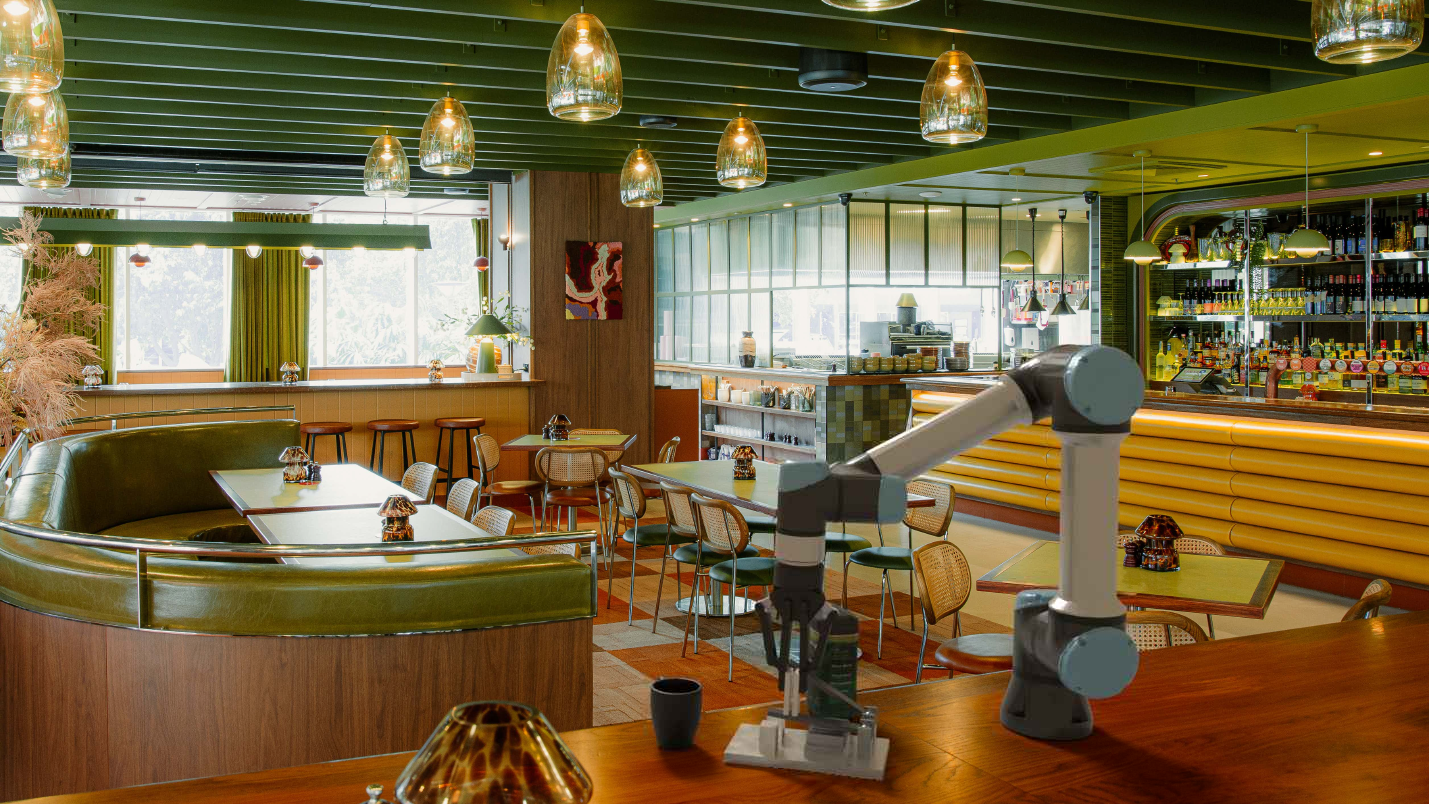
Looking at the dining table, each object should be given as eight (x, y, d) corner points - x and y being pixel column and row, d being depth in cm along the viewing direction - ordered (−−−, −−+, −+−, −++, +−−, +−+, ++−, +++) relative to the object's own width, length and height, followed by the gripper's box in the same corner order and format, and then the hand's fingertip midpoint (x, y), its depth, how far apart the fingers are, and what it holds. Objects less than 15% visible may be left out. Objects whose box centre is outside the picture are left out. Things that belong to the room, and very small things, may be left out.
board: (889, 748, 173) (890, 705, 173) (882, 780, 160) (883, 734, 160) (741, 732, 179) (742, 690, 178) (723, 762, 166) (724, 717, 166)
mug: (685, 724, 182) (686, 668, 181) (708, 751, 170) (709, 691, 170) (637, 729, 179) (638, 672, 178) (657, 756, 168) (658, 696, 167)
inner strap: (871, 721, 171) (877, 713, 171) (870, 726, 169) (875, 718, 169) (787, 663, 174) (792, 655, 174) (784, 668, 171) (789, 660, 171)
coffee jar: (862, 721, 185) (866, 613, 184) (818, 724, 183) (821, 615, 182) (842, 702, 194) (845, 599, 193) (800, 705, 192) (803, 601, 191)
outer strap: (870, 733, 165) (872, 723, 165) (869, 739, 163) (870, 728, 163) (769, 713, 169) (770, 703, 169) (766, 718, 166) (767, 708, 166)
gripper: (847, 559, 167) (839, 710, 169) (760, 551, 170) (752, 699, 172) (841, 569, 160) (832, 726, 161) (750, 561, 163) (742, 715, 164)
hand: (791, 712), depth 167 cm, fingers closed, pressing on outer strap
